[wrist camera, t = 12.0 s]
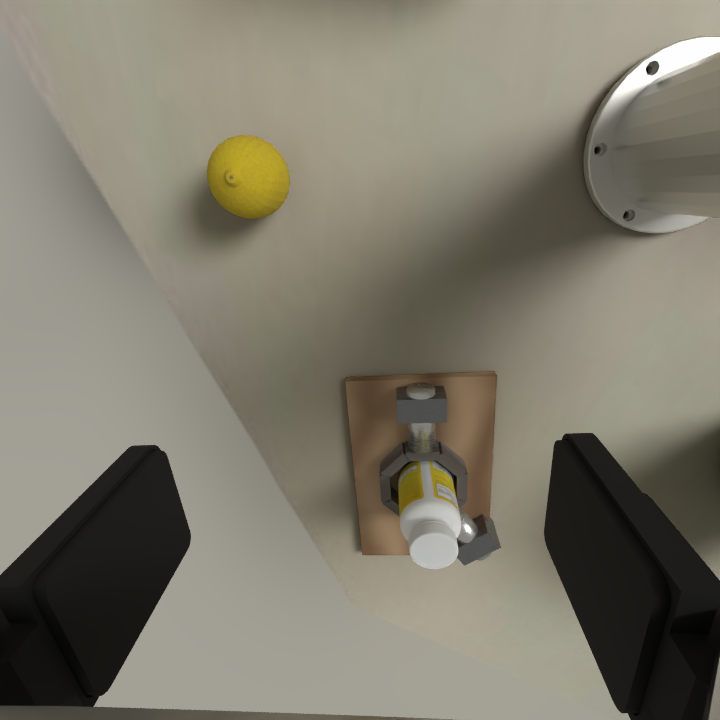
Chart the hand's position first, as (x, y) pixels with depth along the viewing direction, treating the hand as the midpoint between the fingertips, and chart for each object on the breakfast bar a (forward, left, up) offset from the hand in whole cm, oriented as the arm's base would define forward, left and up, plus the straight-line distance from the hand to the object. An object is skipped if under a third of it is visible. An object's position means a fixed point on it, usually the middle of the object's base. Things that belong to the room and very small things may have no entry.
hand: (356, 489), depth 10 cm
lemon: (+9, -8, -28) cm, 31 cm away
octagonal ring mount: (-3, +21, -28) cm, 35 cm away
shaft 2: (-7, +27, -28) cm, 40 cm away
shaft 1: (-3, +13, -28) cm, 31 cm away
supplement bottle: (-3, +21, -28) cm, 35 cm away
